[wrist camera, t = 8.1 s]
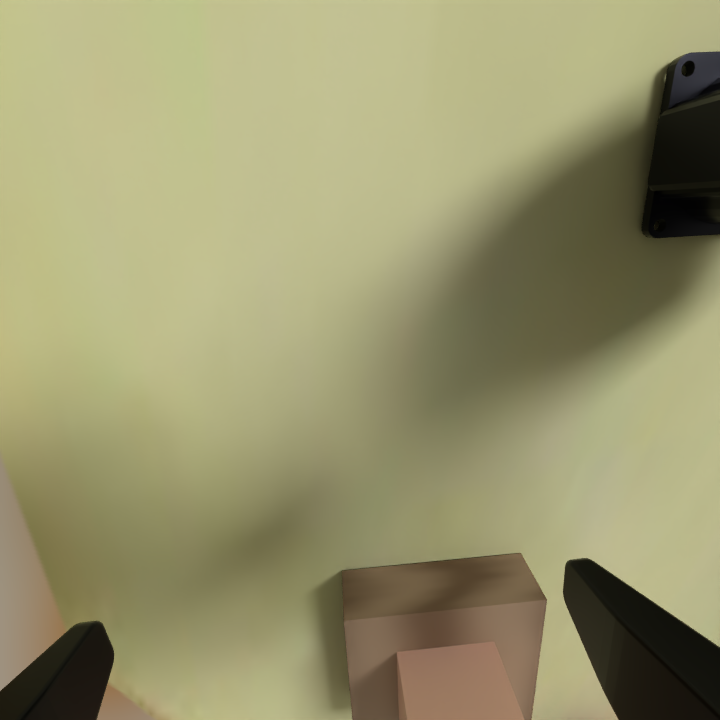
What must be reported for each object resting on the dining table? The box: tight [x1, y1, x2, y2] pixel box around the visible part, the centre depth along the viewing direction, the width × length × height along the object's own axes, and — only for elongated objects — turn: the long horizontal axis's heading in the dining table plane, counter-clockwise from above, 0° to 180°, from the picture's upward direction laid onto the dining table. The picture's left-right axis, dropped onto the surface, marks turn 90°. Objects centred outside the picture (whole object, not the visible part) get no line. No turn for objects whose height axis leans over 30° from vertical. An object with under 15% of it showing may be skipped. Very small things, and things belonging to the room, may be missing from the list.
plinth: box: [342, 553, 547, 720], centre depth 24 cm, size 10×10×3 cm
